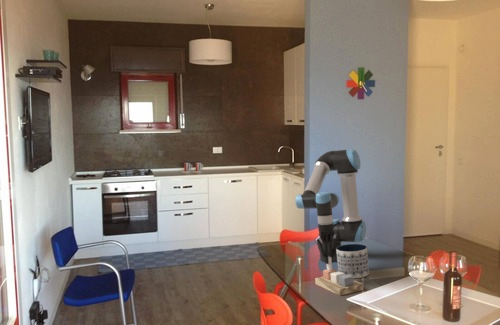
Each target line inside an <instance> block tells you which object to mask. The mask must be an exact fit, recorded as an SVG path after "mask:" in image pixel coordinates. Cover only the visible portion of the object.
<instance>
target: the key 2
mask: <svg viewBox="0 0 500 325" xmlns="http://www.w3.org/2000/svg"><path fill="white" fill-rule="evenodd" d="M338 278H339V285H341V286H343V287H348V286H352V285H354V279H353V277H352V276H350V275H343V276H339V277H338Z"/></svg>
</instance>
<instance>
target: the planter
mask: <svg viewBox="0 0 500 325" xmlns="http://www.w3.org/2000/svg"><path fill="white" fill-rule="evenodd" d="M336 251H337V261H336V262H337V272H338V271H339V272H342V273H344V274H345V275H350V276H352V277H353V280H354V279H361V278H365V277H367V276H369V274H370V269H369V268H370V266H369V256H368V254H369V253H368V246H367V245H364V244H359V243H348V244H341V246H339V247H337V248H336Z"/></svg>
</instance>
